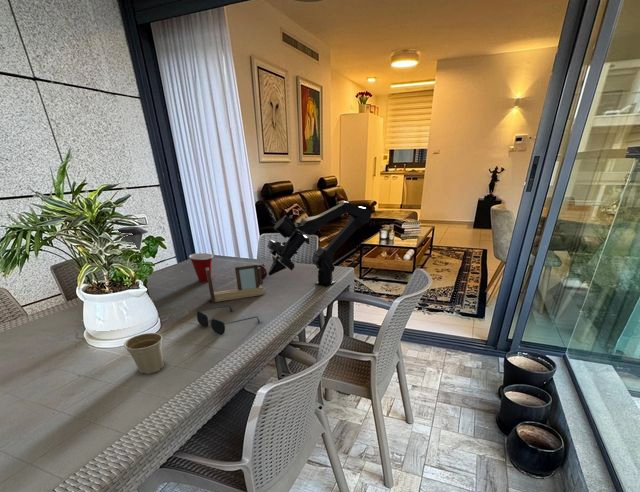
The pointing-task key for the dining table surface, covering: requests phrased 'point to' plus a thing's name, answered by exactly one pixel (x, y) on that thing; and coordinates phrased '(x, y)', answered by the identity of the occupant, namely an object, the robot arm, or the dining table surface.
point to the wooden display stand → (231, 291)
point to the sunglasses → (215, 321)
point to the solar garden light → (134, 237)
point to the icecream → (263, 270)
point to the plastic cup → (202, 265)
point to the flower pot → (146, 352)
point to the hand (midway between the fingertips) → (269, 274)
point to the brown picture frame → (248, 277)
